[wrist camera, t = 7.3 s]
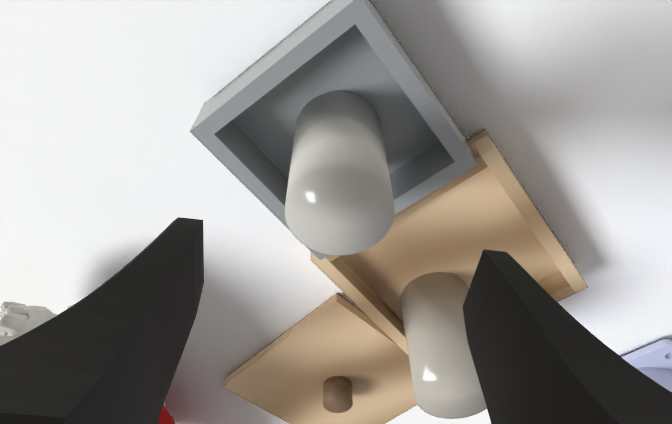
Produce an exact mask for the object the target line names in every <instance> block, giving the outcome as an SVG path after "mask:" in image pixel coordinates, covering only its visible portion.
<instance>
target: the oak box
mask: <svg viewBox="0 0 672 424" xmlns="http://www.w3.org/2000/svg"><path fill="white" fill-rule="evenodd" d="M466 141H467V143H468V146H469V148H470V150H471V152H472V154H473V156H474V158H475V160H476V162H477V165H476V166H474V167H473V168H471V169H469V170H468V171H466V172H464V173H463V174H461V175H459V176H458V177H456V178H454V179H453V180H451V181H450V182H448V183H446V184H445V185H443V186H441V187H440V188H438V189H436V190H435V191H433V192H432V193H430V194H428V195H427V196H425V197H423V198H422V199H420V200H418V201H417V202H415V203H413V204H412V205H410V206H409V207H407V208H405V209H404V210H402V211H400V212H399V213H397V214H395V215H394V220H393V223H392V225H391V227H390V229H389V231H388V232H387V234H386V235H385V236H384V237H383V238H382V239H381V240H380V241H379V242H378V243H377V244H375V245H374V246H372V247H371V248H369V249H366V250H364V251H362V252H359V253H355V254H350V255H328V256H327V257H325V258H323V259H322V260H319V259H318V258H317V257H316V256H315V255H314V254H313V253H312V252H311V261H312V262H313V263H314V264H315V265H316V266H317V267H318V268H319V269H320V270H321V271H322V272H323V273H324V274H325V275H326V276H327V277H328V278H329V279H330V280H331V281H332V282H333V283H334V284H335V285H336V286H338V287H339V288H340V289H341V290H342V291H343V292H344V293H345V294H346V295H347V296H348V297H349V298H350V299H351V300H352V301H353V302H354V303H355V304H356V305H357V306H358V307H359V308H360V309H361V310H362V311H363V312H364V313H365V314H366V315H367V316H368V317H369V318H370V319H371V320H372V321H373V322H374V323H375V324H376V325H377V326H379V327H380V328H381V329H382V330H383V331H384V332H385V333H386V334H387V335H388V336H389V337H390V338H391V339H392V340H393V341H394V342H395V343H396V344H397V345H398V346H399V347H400V348H401V349H402V350H403V351H404V352H405V353H406V354H407V355H408V349H407V342H406V336H405V329H404V323H403V316H402V310H401V303H400V298H401V294H402V291H403V290H404V288H405V287H406V286H407V284H408V283H410V282H411V281H412V280H414V279H415V278H417V277H419V276H421V275H424V274H428V273H433V272H444V273H450V274H453V275H455V276H457V277H459V278H461V279H462V280H463V281H464V282H465V283H466V284H467V286H468V288H469V287H470V285H471V282H472V279H473V276H474V274H475V271H476V268H477V265H478V263H479V260H480V257H481V254H482V252H483V249H485V250H495V251H504V252H507V253H508V254H509V255H510V256H511V257H512V258H514V259H515V260H516V261H517V262H518V263H519V264H520V265H521V266H522V267H523V268H524V269H525V270H526V271H527V272H528V273H529V274H530V276H531V277H532V278H533V279H534V280H535V281H536V282H537V283H538V284H539V285H540V286H541V287H542V288H543V289H544V290H545V291H546V292H547V293H548V294H549V295H550V296H551V297H552V298H553V299H554V300H555V301H556V302H559V301H561V300H563V299H565V298H567V297H569V296H571V295H573V294H575V293H577V292H579V291H581V290H583V289H586V288H588V286H587V285H586V283H585V281H584V280H583V278H582V276H581V275H580V273H579V271H578V270H577V268H576V266H575V265H574V263H573V262H572V260H571V259H570V257H569V256H568V254H567V253H566V251H565V250H564V248H563V247H562V245H561V244H560V242H559V241H558V239H557V238H556V236H555V235H554V233H553V232H552V230H551V229H550V227H549V226H548V224H547V223H546V221H545V220H544V218H543V217H542V215H541V214H540V212H539V211H538V209H537V208H536V206H535V205H534V203H533V202H532V200H531V199H530V197H529V196H528V194H527V193H526V191H525V190H524V188H523V187H522V185H521V184H520V182H519V181H518V179H517V178H516V176H515V175H514V173H513V172H512V170H511V168H510V167H509V165H508V164H507V162H506V161H505V159H504V158H503V156H502V155H501V153H500V152H499V150H498V149H497V147H496V146H495V144H494V143H493V141H492V140H491V138H490V137H489V135H488V134H487V132H486V131H485V129H484V130H482V131H481V132H479V133H478V134H476V135H474V136H473V137H471V138H470V139H468V140H466ZM408 356H409V355H408Z"/></svg>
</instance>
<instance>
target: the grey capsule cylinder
mask: <svg viewBox="0 0 672 424" xmlns="http://www.w3.org/2000/svg"><path fill="white" fill-rule="evenodd" d="M468 290H469V288H468V286H467V284H466V283H465V282H464V281H463V280H462V279H461V278H459V277H457V276H455V275H453V274H450V273H444V272H433V273H428V274H424V275H421V276H419V277H417V278H415V279H414V280H412V281H411V282H410V283H408V284H407V286H406V287H405V288H404V290H403V291H402V294H401V298H400V303H401V310H402V316H403V323H404V329H405V336H406V342H407V349H408V355H409V362H410V368H411V374H412V381H413V387H414V394H415V400H416V402H417V404H418V406H419V407H420V408H421V409H422V410H423V411H424V412H426V413H428V414H430V415H432V416H435V417H439V418H446V419H457V418H464V417H469V416H472V415H475V414H478V413H480V412H482V411H483V410H485V409H487V406H486V403H485V399H484V396H483V393H482V389H481V386H480V383H479V379H478V376H477V373H476V369H475V366H474V362H473V359H472V355H471V352H470V348H469V345H468V341H467V335H466V329H465V322H464V314H463V304H464V301H465V299H466V296H467V293H468Z"/></svg>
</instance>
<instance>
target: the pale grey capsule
mask: <svg viewBox="0 0 672 424" xmlns="http://www.w3.org/2000/svg"><path fill="white" fill-rule="evenodd" d="M394 214H395V207H394V200H393V194H392V188H391V182H390V176H389V170H388V164H387V158H386V152H385V146H384V139H383V133H382V127H381V122H380V118H379V116H378V114H377V112H376V110H375V109H374V108H373V106H372V105H371V104H370V103H369V102H368V101H366V100H365V99H363V98H362V97H360V96H358V95H356V94H353V93H349V92H343V91H333V92H328V93H324V94H321V95H319V96H317V97H315V98H314V99H312V100H311V101H309V102H308V103H307V104H306V105H305V106H304V107H303V109H302V110H301V112H300V114H299V116H298V118H297V121H296V126H295V134H294V141H293V149H292V157H291V164H290V172H289V179H288V187H287V194H286V202H285V219H286V222H287V225H288V227H289V229H290V231H291V232H292V234H293V235H294V236H295V237H296V239H297V240H299V241H300V242H301V243H302V244H304V245H305V246H307V247H308V248H310V249H312V250H315V251H317V252H320V253H324V254H329V255H350V254H355V253H359V252H362V251H364V250H366V249H369V248H371V247H372V246H374V245H375V244H377V243H378V242H379V241H380V240H381V239H382V238H383V237H384V236H385V235H386V234H387V232H388V231H389V229H390V227H391V225H392V223H393V220H394Z"/></svg>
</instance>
